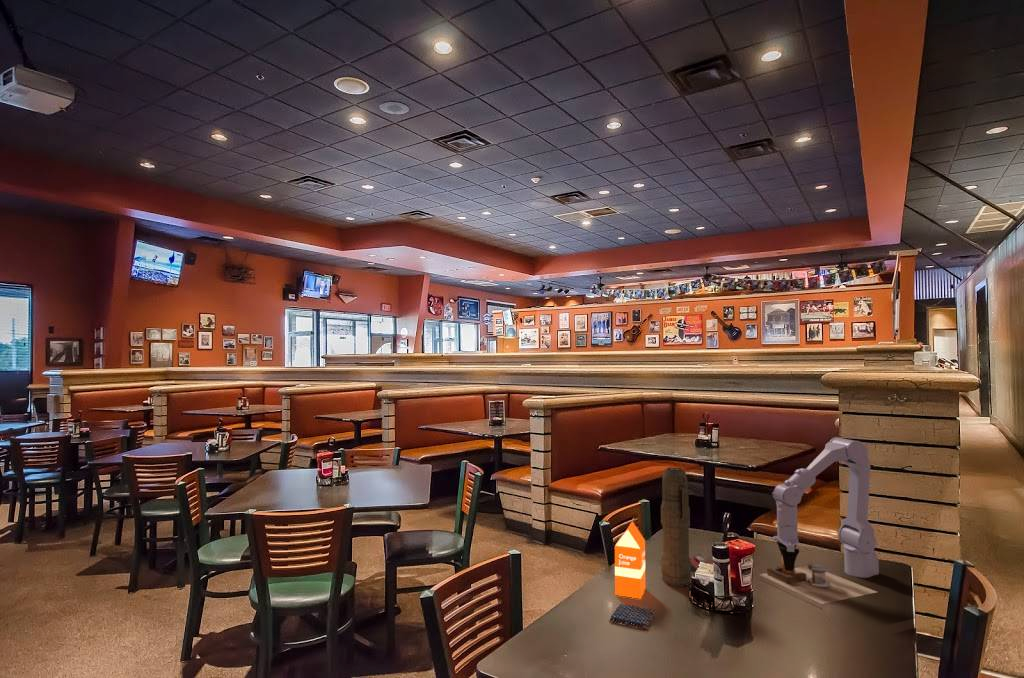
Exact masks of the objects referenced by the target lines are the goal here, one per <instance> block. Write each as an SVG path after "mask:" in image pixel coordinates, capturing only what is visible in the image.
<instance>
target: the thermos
mask: <svg viewBox="0 0 1024 678" xmlns="http://www.w3.org/2000/svg"><path fill="white" fill-rule="evenodd" d="M685 471H686V470H684V469H683V468H680V467H676V466H674V467H667V468H665V469H664V472H663V474H662V476H661V477H662V484H661V499H662V500H661V505H660V524H661V526H662V555H661V565H660V566H661V570H660V571H661V573H662V575H661V576H662V577H661V580H663V581H664V582H665V583H664V582H663V581H662V582H663V583H664V584H666V583H667V584H666V585H669V584H670V585H669V586H672V585H674V587H684V586H683V585H687V584H689V583H690V580H691V575H692V572H691V560H690V559H691V557H690V546H689V545H690V543H689V542H690V541H689V540H690V538H689V536H690V535H689V530H690V527H691V508H690V506H689V505H690V502H689V501H690V500H689V497H690V496H689V495H690V494H689V488H688V477H687V474H686V472H685ZM690 584H691V583H690ZM690 584H689V585H690ZM687 586H688V585H687Z"/></svg>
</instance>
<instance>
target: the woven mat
mask: <svg viewBox="0 0 1024 678" xmlns="http://www.w3.org/2000/svg"><path fill="white" fill-rule="evenodd" d="M655 617H656V616H655V611H654V610H653V609H652V610H651V608H649V609H648V608H645V607H640V606H635V605H628V603H625V604H623V603H620V604H618V606H617V607H616V608H615V610H614V611H613V612H612V614H611V616H610V619H608V621H609V622H610V621H613V619H614V621H613V624H616V623H618V622H619V621H620V622H619V623H621V622H622V624H625V625H631V626H634V627H633V628H635V626H636V625H637V626H636V627H638V628H637V629H639V628H641V629H640V630H644V631H645V629H646V631H647V630H648V629H649V626H650V624H651V623H653V621H654V619H653V618H655ZM615 622H616V623H615ZM631 623H632V624H631ZM633 624H634V625H633ZM625 625H624V626H625Z"/></svg>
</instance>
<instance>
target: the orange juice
mask: <svg viewBox="0 0 1024 678" xmlns="http://www.w3.org/2000/svg"><path fill="white" fill-rule="evenodd" d="M614 586H615V587H614V591H615V593H614V596H615V595H619V596H618V597H620V596H626V597H632V598H631V599H633V598H639V599H641V600H642V598H643V596H644V593H645V591H644V590H646V589H645V588H646V539H645V538H644V537H643V535H642V533H641V532H640V530H639V529H638V527H637V525H636V524H635V522H634V521H633V520H632V521H631V522H630V524H629V526H628V527H627V528H626V530H625V531H624V533H623V534H622V536H620V537H619V539H618V540H617V542H616V544H615V545H614ZM642 595H643V596H642ZM626 597H625V598H626ZM641 597H642V598H641ZM639 599H638V600H639Z"/></svg>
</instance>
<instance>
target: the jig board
mask: <svg viewBox="0 0 1024 678" xmlns="http://www.w3.org/2000/svg"><path fill="white" fill-rule="evenodd" d="M796 573H805V574H806V581H802V582H797V583H792V584H786V583H784V582H782V581H780V580H777V579H775V578H773V577H771V576H769V575H767V573H759V576H760V577H763V578H765V579H767V580H769V581H772V582H774V583H776V584H778V585H780V586H782V587H784V588H787V589H789V590H791V591H793V592H795V593H796V594H799V595H801V596H803V597H805V598H807V599H810V600H813V601H815V602H816V603H819V604H820V605H824V604H829V603H834V602H838V601H843V600H848V599H853V598H858V597H861V596H863V597H864V596H866V595H871V594H872V595H873V594H876V593H878V591H876V590H873V589H871V588H868V587H866V586H864V585H861V584H858V583H856V582H853V581H851V580H849V579H846V578H844V577H841V576H839V575H836V574H834V573H831V572H830V571H829V572H825V579H826V580H827V581H829V582H830V587H829V588H818V587H814V586H811V585H809V584H808V579H809V578H812V570H810V569H809V568H808V567H807V565H805V566H799V567H795V574H796ZM759 580H760V581H762V582H764V583H766V584H768V585H770V586H772V587H774V588H776V589H778V590H780V591H783V592H784V593H787V594H789V595H791V596H793V597H794V598H797V599H800V600H802V601H803V602H806V603H808V604H810V605H812V606H813V607H816V608H818V609H820V610H823V608H821V607H819V606H818V605H816V604H813V603H811V602H808V601H807V600H804V599H802V598H800V597H798V596H797V595H794V594H792V593H790V592H788V591H786V590H784V589H781V588H779V587H776V585H773V584H770V583H769V582H767V581H764V580H763V579H761V578H759Z"/></svg>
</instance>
